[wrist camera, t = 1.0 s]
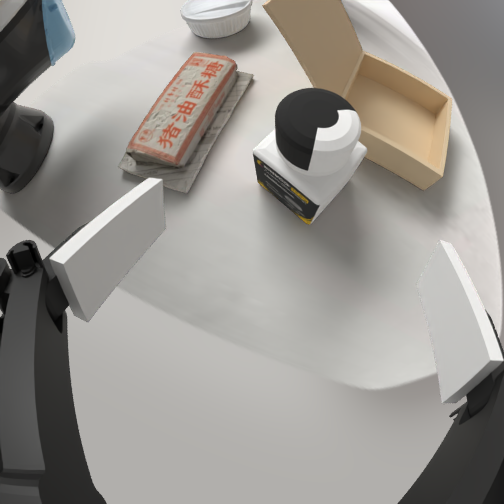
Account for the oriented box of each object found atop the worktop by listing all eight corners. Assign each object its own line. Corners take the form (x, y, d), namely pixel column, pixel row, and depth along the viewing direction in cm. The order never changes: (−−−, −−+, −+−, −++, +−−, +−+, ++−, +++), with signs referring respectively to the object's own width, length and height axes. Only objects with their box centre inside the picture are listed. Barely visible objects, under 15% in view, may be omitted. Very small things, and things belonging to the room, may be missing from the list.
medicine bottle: (256, 182, 28) (244, 115, 17) (299, 139, 29) (309, 64, 17) (308, 226, 27) (332, 181, 15) (350, 179, 28) (389, 117, 16)
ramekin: (218, 50, 32) (212, 25, 27) (174, 33, 34) (165, 11, 28) (268, 20, 32) (267, -4, 27) (222, 5, 34) (217, -16, 29)
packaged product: (181, 45, 27) (251, 55, 26) (190, 68, 32) (254, 80, 31) (103, 156, 26) (174, 180, 24) (123, 172, 31) (189, 197, 29)
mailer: (269, 116, 29) (261, 3, 14) (308, 54, 31) (316, -38, 15) (424, 191, 27) (510, 124, 11) (438, 116, 28) (493, 45, 12)
